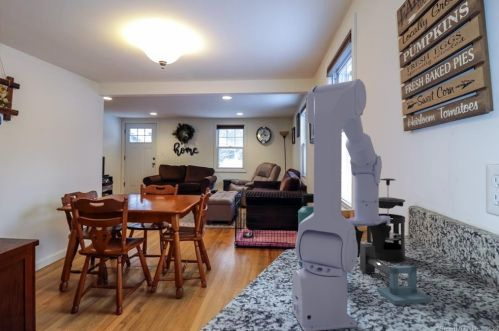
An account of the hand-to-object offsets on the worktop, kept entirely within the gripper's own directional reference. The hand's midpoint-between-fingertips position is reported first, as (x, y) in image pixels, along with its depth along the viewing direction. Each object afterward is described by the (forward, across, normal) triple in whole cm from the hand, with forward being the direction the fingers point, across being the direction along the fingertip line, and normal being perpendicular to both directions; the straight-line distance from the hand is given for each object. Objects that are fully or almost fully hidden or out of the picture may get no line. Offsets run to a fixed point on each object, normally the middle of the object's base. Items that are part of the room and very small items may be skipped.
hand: (366, 254), depth 76 cm
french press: (+4, +14, +6) cm, 17 cm away
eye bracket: (+4, -4, -14) cm, 15 cm away
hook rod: (+4, -1, -5) cm, 7 cm away
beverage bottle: (+5, -13, +6) cm, 15 cm away
